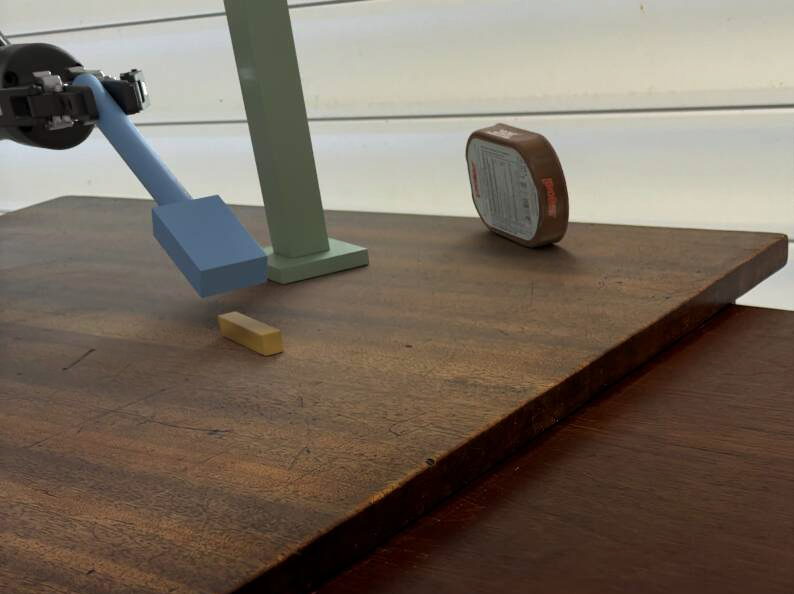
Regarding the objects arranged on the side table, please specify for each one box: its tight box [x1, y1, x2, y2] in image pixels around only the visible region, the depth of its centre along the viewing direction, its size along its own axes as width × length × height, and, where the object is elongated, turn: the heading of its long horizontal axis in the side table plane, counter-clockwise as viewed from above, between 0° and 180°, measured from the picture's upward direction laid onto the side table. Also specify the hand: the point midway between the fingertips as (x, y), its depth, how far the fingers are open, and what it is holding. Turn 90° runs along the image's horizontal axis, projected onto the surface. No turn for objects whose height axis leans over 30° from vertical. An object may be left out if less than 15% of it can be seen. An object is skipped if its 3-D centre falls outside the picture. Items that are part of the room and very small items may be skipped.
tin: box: [465, 122, 570, 248], centre depth 98 cm, size 15×3×8 cm, turn 27°
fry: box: [217, 310, 285, 357], centre depth 80 cm, size 7×1×1 cm, turn 37°
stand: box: [222, 0, 370, 285], centre depth 88 cm, size 15×8×31 cm, turn 37°
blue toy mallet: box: [72, 74, 268, 299], centre depth 84 cm, size 22×5×2 cm, turn 39°
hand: (109, 100), depth 85 cm, fingers closed on blue toy mallet, 2 cm apart
